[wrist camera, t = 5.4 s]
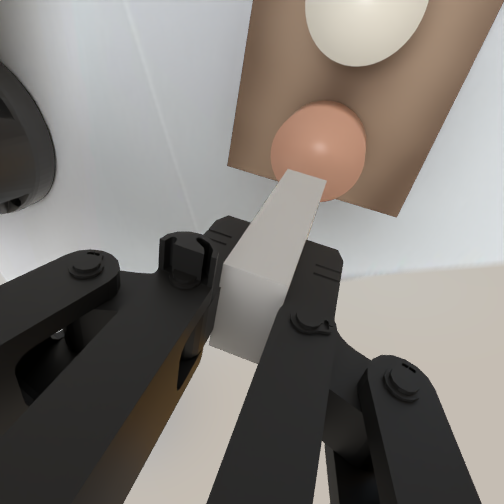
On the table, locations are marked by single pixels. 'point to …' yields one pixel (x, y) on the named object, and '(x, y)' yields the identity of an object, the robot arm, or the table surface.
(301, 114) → the terracotta button
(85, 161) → the table surface
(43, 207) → the table surface
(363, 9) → the cream button
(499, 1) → the button board
